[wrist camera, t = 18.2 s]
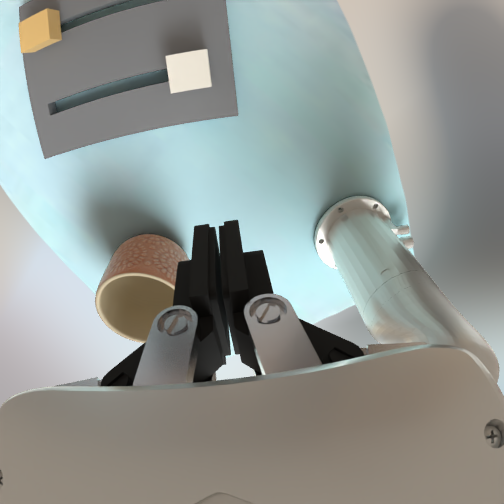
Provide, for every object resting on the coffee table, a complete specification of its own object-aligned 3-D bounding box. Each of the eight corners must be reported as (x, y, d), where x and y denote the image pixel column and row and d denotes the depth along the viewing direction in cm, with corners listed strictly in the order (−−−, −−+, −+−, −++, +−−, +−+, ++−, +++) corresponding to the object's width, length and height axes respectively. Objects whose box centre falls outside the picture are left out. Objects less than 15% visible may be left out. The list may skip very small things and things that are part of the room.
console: (219, -51, 21) (219, -57, 19) (237, 113, 34) (238, 115, 32) (26, 8, 20) (19, 7, 19) (51, 154, 33) (44, 159, 31)
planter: (98, 250, 42) (75, 300, 33) (160, 206, 40) (145, 253, 31) (150, 301, 49) (141, 354, 40) (211, 268, 46) (212, 322, 37)
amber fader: (67, 12, 22) (47, 8, 18) (70, 40, 24) (49, 39, 20) (41, 25, 22) (18, 23, 18) (43, 51, 24) (21, 53, 20)
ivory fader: (208, 51, 29) (206, 48, 24) (212, 84, 31) (211, 86, 26) (172, 57, 28) (165, 56, 24) (177, 89, 31) (170, 93, 26)
